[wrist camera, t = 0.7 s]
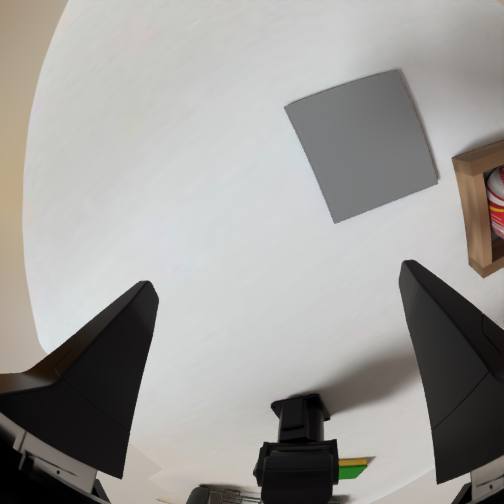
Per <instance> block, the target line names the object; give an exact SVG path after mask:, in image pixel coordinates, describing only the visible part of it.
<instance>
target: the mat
mask: <svg viewBox="0 0 504 504" xmlns="http://www.w3.org/2000/svg"><path fill="white" fill-rule="evenodd" d="M284 109H285V111H286V113H287V115H288V117H289V119H290V121H291V123H292V125H293V128H294V130H295V132H296V134H297V136H298V138H299V140H300V143H301V145H302V147H303V149H304V151H305V154H306V156H307V158H308V160H309V163H310V165H311V167H312V170H313V172H314V174H315V177H316V179H317V181H318V184H319V186H320V189H321V191H322V194H323V196H324V199H325V201H326V204H327V206H328V209H329V211H330V214H331V217H332V219H333V222H334V224H336V223H338V222H341V221H344V220H346V219H349V218H351V217H354V216H356V215H359V214H362V213H364V212H367V211H369V210H372V209H374V208H377V207H380V206H382V205H385V204H387V203H390V202H392V201H395V200H398V199H400V198H403V197H405V196H408V195H410V194H413V193H415V192H418V191H421V190H423V189H426V188H428V187H431V186H433V185H436V184H438V182H437V178H436V174H435V170H434V166H433V163H432V159H431V156H430V153H429V149H428V146H427V143H426V140H425V137H424V134H423V131H422V128H421V126H420V123H419V120H418V117H417V115H416V112H415V110H414V107H413V105H412V102H411V100H410V97H409V95H408V93H407V91H406V88H405V86H404V84H403V82H402V79H401V77H400V75H399V73H398V71H397V70H393V71H389V72H386V73H382V74H378V75H374V76H371V77H367V78H364V79H361V80H357V81H354V82H351V83H348V84H345V85H342V86H339V87H336V88H333V89H330V90H327V91H324V92H321V93H318V94H316V95H313V96H310V97H308V98H305V99H302V100H300V101H297V102H295V103H292V104H290V105H287V106H285V107H284Z"/></svg>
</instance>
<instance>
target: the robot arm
mask: <svg viewBox="0 0 504 504" xmlns="http://www.w3.org/2000/svg"><path fill="white" fill-rule="evenodd" d="M399 288H400V292H401V297H402V302H403V306H404V311H405V317H406V321H407V325H408V329H409V332H410V336H411V339H412V343H413V347H414V350H415V354H416V358H417V362H418V366H419V370H420V374H421V378H422V383H423V387H424V392H425V397H426V402H427V407H428V413H429V419H430V425H431V430H432V440H433V448H434V457H435V467H436V481H437V485H438V484H441V483H444V482H446V481H449V480H452V479H454V478H457V477H459V476H462V475H464V474H466V473H469V472H470V475H471V482H469V483H467V484H465V485H464V486H463V487H462V489H461V491H460V492H459V493H458V495H457V496H456V498H455V499H454V501H453V502H452V503H451V504H504V330H503V329H502V328H500V327H499V326H498V325H497V324H496V323H494V322H493V321H492V320H491V319H490V318H488V317H487V316H486V315H485V314H482V312H481V311H480V310H479V309H478V308H477V307H475V306H474V305H473V304H472V303H470V302H469V301H468V300H467V299H466V298H464V297H463V296H462V295H461V294H459V293H458V292H457V291H455V290H454V289H453V288H452V287H450V286H449V285H448V284H446V283H445V282H444V281H442V280H441V279H440V278H438V277H437V276H436V275H434V274H433V273H432V272H430V271H429V270H428V269H426V268H425V267H424V266H422V265H421V264H419V263H418V262H417V261H415V260H405V261H403V262H402V265H401V271H400V276H399ZM158 304H159V298H158V295H157V293H156V291H155V289H154V287H153V285H152V283H151V282H150V281H148V280H147V281H139V282H138V283H136V284H135V285H134V286H133V287H131V288H130V289H129V290H128V291H126V292H125V293H124V294H123V295H121V296H120V297H119V298H118V299H116V300H115V301H114V302H113V303H111V304H110V305H109V306H108V307H106V308H105V309H104V310H103V311H101V312H100V313H99V314H98V315H97V316H95V317H94V318H93V319H92V320H91V321H89V322H88V323H87V324H86V325H85V326H83V327H82V328H81V329H80V330H79V331H77V332H76V334H74V335H73V336H71V337H70V338H69V339H68V340H67V341H65V342H64V343H63V344H62V345H61V346H59V347H58V348H57V349H56V350H54V351H53V352H52V353H50V354H49V355H48V356H46V357H45V358H44V359H43V360H41V361H40V362H39V363H37V364H36V365H35V366H34V367H32V368H31V369H29V370H27V371H25V372H21V373H9V374H0V504H111V503H110V501H109V499H108V497H107V495H106V493H105V491H104V489H103V487H102V485H101V483H100V481H99V480H98V479H96V475H97V471H98V470H99V471H101V472H104V473H106V474H108V475H111V476H113V477H116V478H119V479H122V477H123V471H124V465H125V458H126V453H127V447H128V442H129V436H130V430H131V425H132V421H133V416H134V411H135V406H136V402H137V397H138V393H139V389H140V384H141V380H142V376H143V372H144V368H145V364H146V360H147V356H148V353H149V349H150V345H151V341H152V337H153V332H154V327H155V321H156V315H157V310H158ZM271 409H272V410H273V411H274V413H275V414H276V415H277V417H278V418H279V419H280V420H279V431H278V441H277V443H269V442H264V444H263V447H261V448H260V453H259V458H258V461H257V463H256V466H255V468H254V470H253V475H254V476H255V477H256V480H257V484H258V487H262V489H261V499H262V501H263V503H264V504H327V503H328V502H329V500H330V499H331V497H332V491H333V485H338V481H339V458H338V448H337V440H336V439H332V440H327V441H324V421H328V420H330V414H329V413H328V411H327V409H326V407H325V405H324V403H323V401H322V399H321V397H320V395H319V394H313V395H308V396H304V397H300V398H295V399H290V400H285V401H280V402H275V403H272V404H271Z"/></svg>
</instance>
